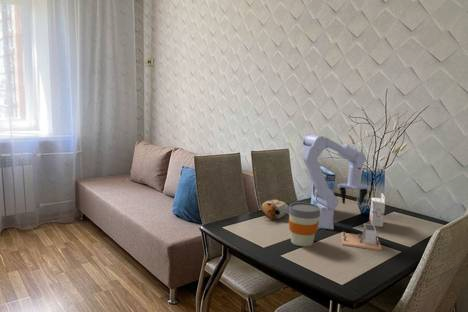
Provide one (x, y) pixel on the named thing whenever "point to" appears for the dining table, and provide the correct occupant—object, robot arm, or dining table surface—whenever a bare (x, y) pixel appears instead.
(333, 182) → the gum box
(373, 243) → the drive
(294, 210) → the reusable coffee cup
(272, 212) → the nautilus
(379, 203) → the ink cartridge box
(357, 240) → the wooden peg board
